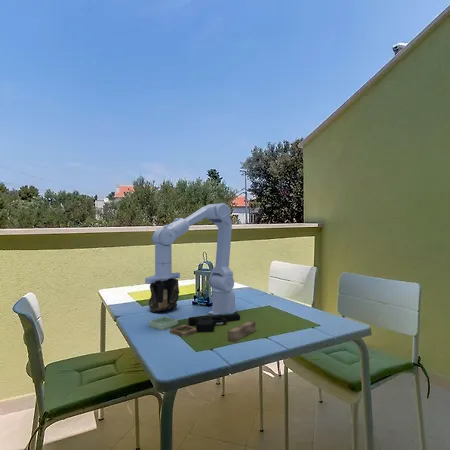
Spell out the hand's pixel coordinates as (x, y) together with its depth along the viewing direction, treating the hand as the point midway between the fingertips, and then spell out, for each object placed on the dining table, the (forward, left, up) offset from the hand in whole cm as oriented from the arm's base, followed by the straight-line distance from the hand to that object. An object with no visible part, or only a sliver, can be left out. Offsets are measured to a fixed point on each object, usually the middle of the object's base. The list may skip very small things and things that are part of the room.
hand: (163, 301), depth 111 cm
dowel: (0, 0, -2) cm, 2 cm away
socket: (0, +11, -9) cm, 14 cm away
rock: (-15, -16, -9) cm, 24 cm away
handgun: (-12, +15, -9) cm, 21 cm away
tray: (0, 0, -9) cm, 9 cm away
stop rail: (-9, +28, -9) cm, 30 cm away
